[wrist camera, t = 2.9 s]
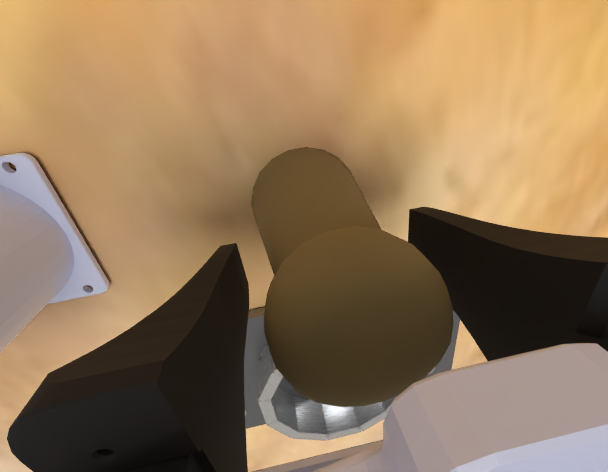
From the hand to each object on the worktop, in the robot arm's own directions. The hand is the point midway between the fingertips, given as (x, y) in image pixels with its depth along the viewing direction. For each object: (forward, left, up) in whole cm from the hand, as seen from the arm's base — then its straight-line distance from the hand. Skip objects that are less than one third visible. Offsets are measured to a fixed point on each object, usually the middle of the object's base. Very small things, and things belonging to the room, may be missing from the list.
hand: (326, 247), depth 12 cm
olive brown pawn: (0, 0, -6) cm, 6 cm away
